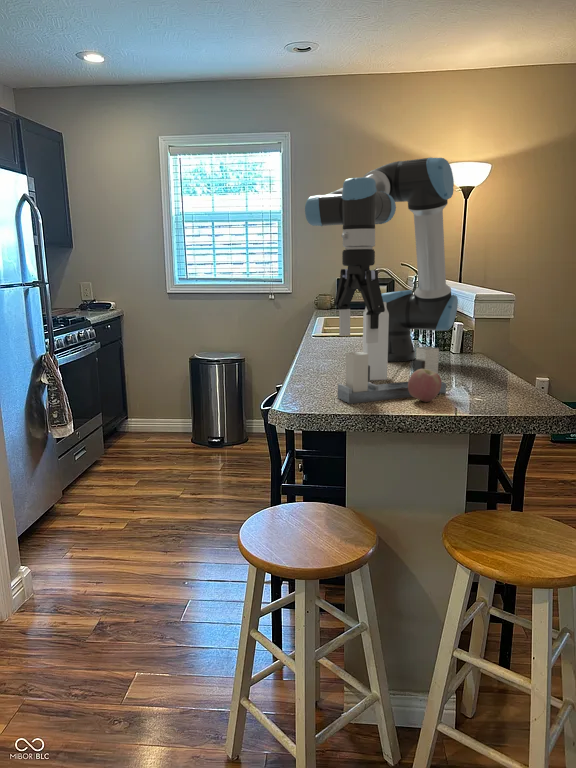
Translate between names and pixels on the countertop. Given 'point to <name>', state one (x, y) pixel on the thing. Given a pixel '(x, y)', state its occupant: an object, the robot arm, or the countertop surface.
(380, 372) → the milk
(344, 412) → the countertop surface
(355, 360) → the short white pillar
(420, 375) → the apple
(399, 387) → the rail
